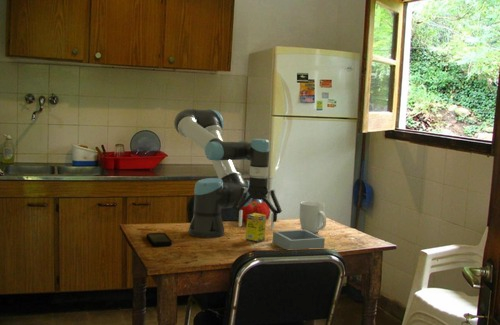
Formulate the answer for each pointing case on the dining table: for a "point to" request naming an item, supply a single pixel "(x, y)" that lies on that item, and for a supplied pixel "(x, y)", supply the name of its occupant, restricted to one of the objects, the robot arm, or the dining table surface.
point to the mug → (312, 216)
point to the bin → (297, 239)
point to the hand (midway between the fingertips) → (256, 227)
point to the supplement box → (255, 227)
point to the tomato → (255, 209)
